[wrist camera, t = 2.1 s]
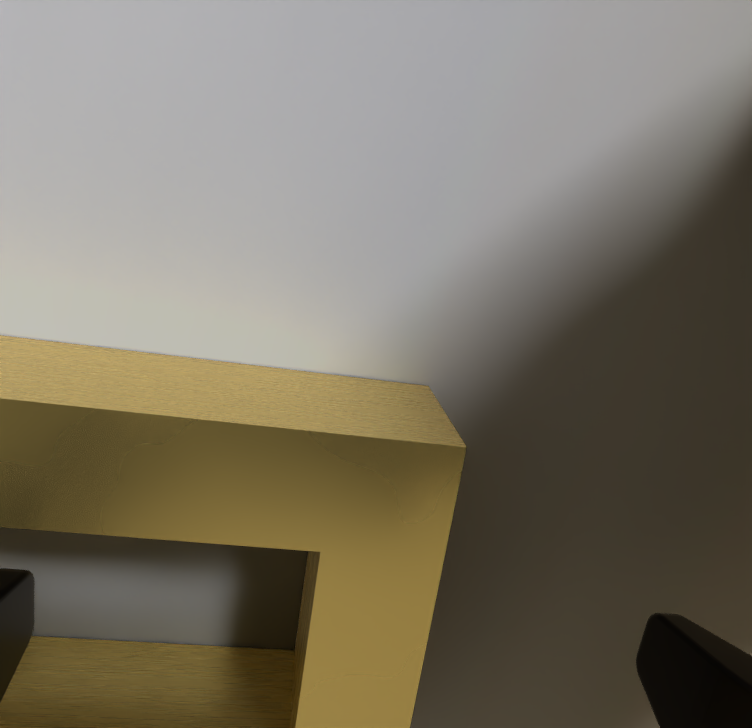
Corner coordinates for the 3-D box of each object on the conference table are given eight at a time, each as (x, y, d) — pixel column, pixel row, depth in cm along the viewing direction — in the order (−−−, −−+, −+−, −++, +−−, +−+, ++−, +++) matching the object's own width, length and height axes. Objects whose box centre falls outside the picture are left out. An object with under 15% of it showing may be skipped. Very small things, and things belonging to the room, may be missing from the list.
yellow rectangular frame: (428, 386, 9) (467, 447, 7) (367, 723, 10) (381, 868, 8) (-307, 299, 8) (-577, 336, 5) (-250, 700, 9) (-441, 864, 7)
